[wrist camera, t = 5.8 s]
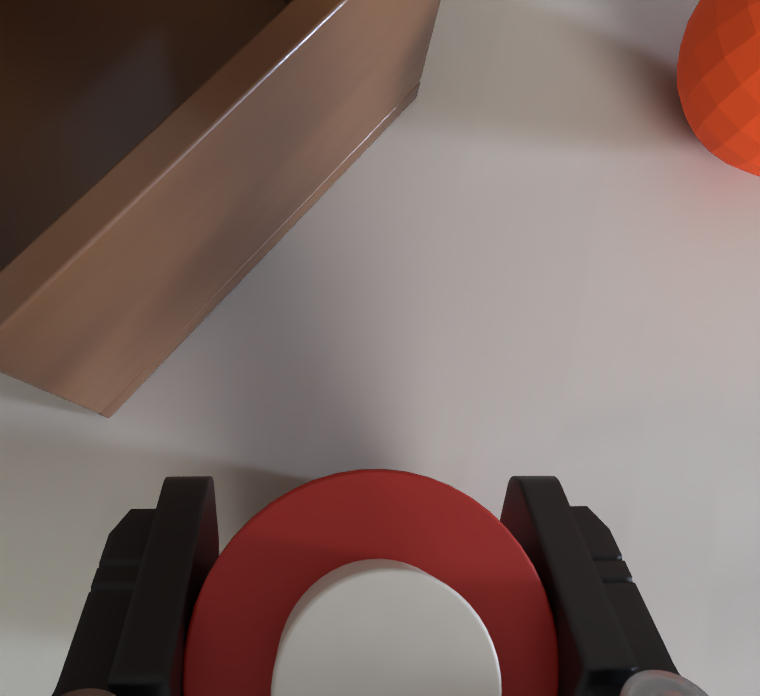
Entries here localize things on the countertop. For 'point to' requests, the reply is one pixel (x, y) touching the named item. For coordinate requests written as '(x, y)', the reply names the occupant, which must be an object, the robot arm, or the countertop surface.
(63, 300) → the chest
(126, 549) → the robot arm
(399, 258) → the countertop surface
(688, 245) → the countertop surface
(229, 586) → the sauce bottle
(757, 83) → the clementine
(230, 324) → the countertop surface
